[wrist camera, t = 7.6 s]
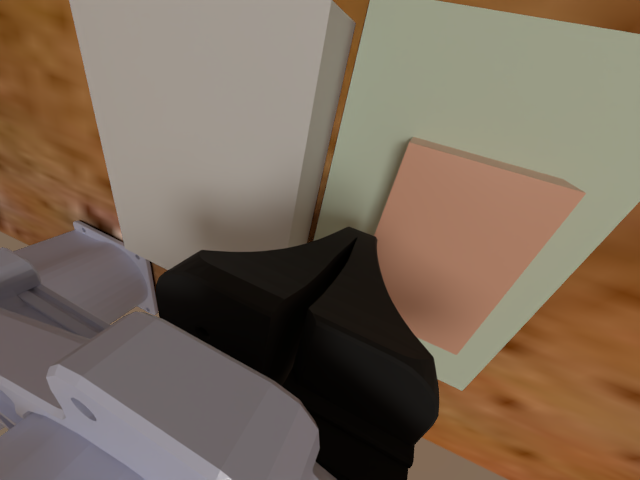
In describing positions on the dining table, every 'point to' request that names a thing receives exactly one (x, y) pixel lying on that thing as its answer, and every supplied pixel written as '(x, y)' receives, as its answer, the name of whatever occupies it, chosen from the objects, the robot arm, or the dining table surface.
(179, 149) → the deck
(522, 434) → the dining table surface
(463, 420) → the dining table surface
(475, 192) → the tile
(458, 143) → the mat
